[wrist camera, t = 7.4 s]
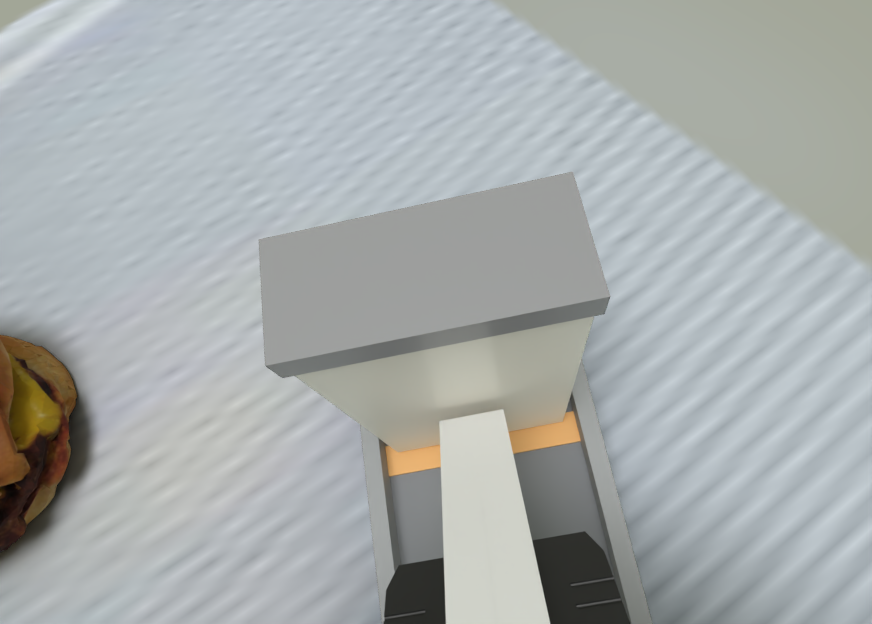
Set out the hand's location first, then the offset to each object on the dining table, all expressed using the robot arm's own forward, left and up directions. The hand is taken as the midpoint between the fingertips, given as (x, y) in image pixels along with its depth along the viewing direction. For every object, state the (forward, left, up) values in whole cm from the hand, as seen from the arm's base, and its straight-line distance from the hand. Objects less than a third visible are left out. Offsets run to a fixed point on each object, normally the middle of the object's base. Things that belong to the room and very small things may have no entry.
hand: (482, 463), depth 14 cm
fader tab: (-2, +1, -4) cm, 4 cm away
